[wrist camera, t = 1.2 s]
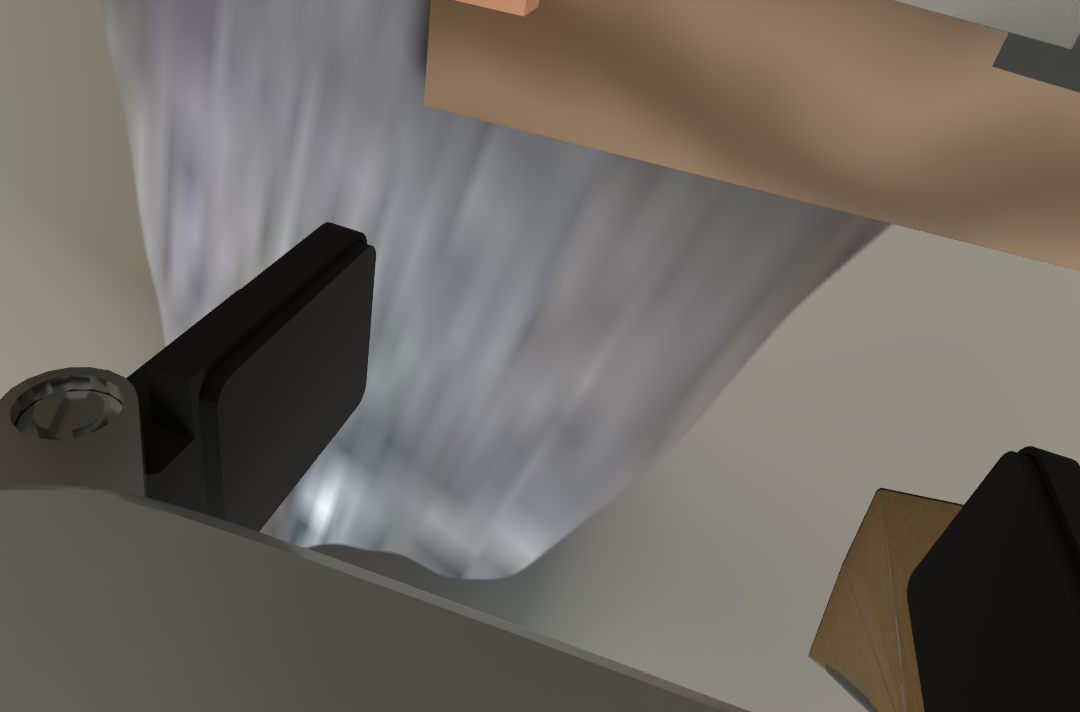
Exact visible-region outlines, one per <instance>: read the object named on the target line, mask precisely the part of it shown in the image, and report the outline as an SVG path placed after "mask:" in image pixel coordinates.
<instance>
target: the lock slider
mask: <svg viewBox="0 0 1080 712" xmlns="http://www.w3.org/2000/svg"><path fill="white" fill-rule="evenodd" d="M455 1H460V2H464V3H468V4H473V5H477V6H481V7H485V8H490V9H494V10H498V11H503V12H507V13H511V14H516V15H520V16H525V15H527V14H528V13H530V12H531V11H533V10H534V9H536V8H538V6H539V0H455Z"/></svg>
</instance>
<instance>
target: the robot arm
mask: <svg viewBox="0 0 1080 712" xmlns="http://www.w3.org/2000/svg"><path fill="white" fill-rule="evenodd" d="M375 262H376V251H375V248H374V247H373V246H371V245H367V240H366V236H365V235H364V234H363V233H361V232H358V231H355V230H352V229H349V228H346V227H342V226H339V225H336V224H333V223H329V222H326V223H324V224H323V225H321V226H320V227H319V228H317V229H316V230H315V231H314V232H312V233H311V234H310V235H309V236H307V237H306V238H305V239H304V240H302V241H301V242H300V243H299V244H297V245H296V246H295V247H293V248H292V249H291V250H290V251H288V252H287V253H286V254H285V255H283V256H282V257H281V258H280V259H278V260H277V261H276V262H274V263H273V264H272V265H271V266H269V267H268V268H267V269H266V270H264V271H263V272H262V273H261V274H259V275H258V276H257V277H255V278H254V279H253V280H252V281H250V282H249V283H248V284H247V285H245V286H244V287H243V288H242V289H240V290H238V291H236V292H235V293H234V294H233V295H231V296H230V297H229V298H228V299H226V300H225V301H224V302H222V303H221V304H220V305H219V306H217V307H216V308H215V309H214V310H212V311H211V312H210V313H208V314H207V315H206V316H205V317H203V318H202V319H201V320H200V321H198V322H197V323H196V324H195V325H193V326H192V327H191V328H189V329H188V330H187V331H186V332H184V333H183V334H182V335H181V336H179V337H178V338H177V339H176V340H174V341H173V342H172V343H170V344H169V345H168V346H167V347H165V348H164V349H163V350H162V351H160V352H159V353H158V354H157V355H155V356H154V357H153V358H152V359H150V360H149V361H148V362H146V363H145V364H144V365H143V366H141V367H140V368H139V369H137V370H136V371H135V372H134V373H132V374H131V375H130V376H129V377H127V378H124V377H123V376H120V375H118V374H116V373H114V372H111V371H109V370H103V369H97V368H92V367H75V368H74V367H71V368H64V369H58V370H53V371H48V372H45V373H42V374H40V375H37V376H34V377H31V378H28V379H26V380H25V381H23V382H21V383H20V384H18V385H16V386H15V387H13V388H11V389H10V390H9V391H8V392H7V393H6V394H5V395H4V396H3V397H2V399H1V400H0V712H750V711H747V710H745V709H742V708H740V707H737V706H734V705H731V704H729V703H726V702H723V701H721V700H718V699H715V698H713V697H710V696H707V695H704V694H702V693H699V692H696V691H694V690H691V689H688V688H686V687H683V686H680V685H678V684H675V683H672V682H669V681H666V680H664V679H661V678H659V677H656V676H653V675H651V674H648V673H645V672H643V671H640V670H637V669H635V668H631V667H629V666H626V665H624V664H621V663H618V662H615V661H613V660H610V659H607V658H605V657H602V656H599V655H597V654H594V653H591V652H588V651H586V650H583V649H580V648H578V647H575V646H572V645H570V644H567V643H564V642H562V641H559V640H556V639H553V638H550V637H548V636H545V635H543V634H540V633H537V632H534V631H532V630H529V629H526V628H524V627H521V626H518V625H516V624H513V623H510V622H507V621H505V620H502V619H499V618H496V617H494V616H491V615H488V614H485V613H483V612H480V611H477V610H475V609H472V608H469V607H466V606H464V605H461V604H458V603H455V602H452V601H450V600H447V599H444V598H442V597H439V596H436V595H433V594H431V593H428V592H425V591H422V590H419V589H417V588H414V587H411V586H408V585H406V584H403V583H400V582H397V581H395V580H392V579H389V578H387V577H384V576H381V575H378V574H375V573H373V572H370V571H367V570H364V569H362V568H359V567H357V566H354V565H351V564H348V563H346V562H343V561H340V560H337V559H335V558H332V557H329V556H326V555H323V554H320V553H317V552H314V551H312V550H309V549H306V548H303V547H300V546H297V545H294V544H291V543H289V542H286V541H283V540H280V539H277V538H274V537H271V536H268V535H265V534H263V533H260V532H259V531H260V530H261V529H262V527H263V526H264V525H265V524H266V522H267V521H268V520H269V519H270V517H271V516H272V515H273V513H274V512H275V511H276V510H277V508H278V507H279V506H280V505H281V503H282V502H283V501H284V499H285V498H286V497H287V496H288V494H289V493H290V492H291V491H292V489H293V488H294V487H295V485H296V484H297V483H298V482H299V480H300V479H301V478H302V477H303V475H304V474H305V473H306V471H307V470H308V469H309V468H310V466H311V465H312V464H313V463H314V461H315V460H316V459H317V457H318V456H319V455H320V454H321V452H322V451H323V450H324V449H325V447H326V446H327V445H328V443H329V442H330V441H331V440H332V438H333V437H334V436H335V435H336V433H337V432H338V431H339V429H340V428H341V427H342V426H343V424H344V423H345V422H346V421H347V419H348V418H349V417H350V415H351V414H352V413H353V412H354V410H355V409H356V408H357V406H358V405H359V403H360V401H361V399H362V397H363V394H364V391H365V387H366V379H367V366H368V353H369V340H370V327H371V314H372V301H373V288H374V275H375ZM907 602H908V608H909V615H910V621H911V628H912V634H913V641H914V647H915V654H916V660H917V667H918V673H919V679H920V686H921V692H922V699H923V705H924V712H1080V465H1079V464H1078V463H1077V461H1075V460H1073V459H1070V458H1067V457H1064V456H1060V455H1057V454H1054V453H1051V452H1048V451H1045V450H1042V449H1039V448H1035V447H1032V446H1029V447H1025V448H1023V449H1021V450H1020V451H1019V452H1018V453H1016V452H1013V451H1010V452H1007V453H1005V454H1004V455H1003V456H1002V457H1001V458H1000V459H999V461H998V462H997V463H996V464H995V466H994V467H993V468H992V470H991V471H990V472H989V473H988V475H987V476H986V477H985V479H984V480H983V481H982V482H981V484H980V485H979V486H978V488H977V489H976V490H975V492H974V493H973V494H972V495H971V497H970V498H969V499H968V501H967V502H966V503H965V505H964V506H963V507H962V508H961V510H960V511H959V512H958V514H957V515H956V516H955V517H954V519H953V520H952V521H951V523H950V524H949V525H948V527H947V528H946V529H945V530H944V532H943V533H942V534H941V536H940V537H939V538H938V540H937V541H936V542H935V543H934V545H933V546H932V547H931V549H930V550H929V551H928V553H927V554H926V555H925V556H924V558H923V559H922V560H921V562H920V563H919V564H918V565H917V567H916V568H915V569H914V571H913V572H912V574H911V576H910V579H909V582H908V585H907Z"/></svg>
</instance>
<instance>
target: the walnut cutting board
mask: <svg viewBox="0 0 1080 712" xmlns="http://www.w3.org/2000/svg"><path fill="white" fill-rule="evenodd" d="M1007 35H1008V32H1003V31H999V30H994V29H990V28H988V27H986V26H985V25H982V24H978V23H975V22H971V21H967V20H964V19H960V18H956V17H953V16H949V15H946V14H942V13H938V12H935V11H931V10H928V9H924V8H920V7H917V6H913V5H909V4H906V3H902V2H899V1H895V0H539V6H538V8H536V9H534V10H533V11H531V12H530V13H528V14H527V15H525V16H520V15H516V14H511V13H507V12H503V11H498V10H494V9H490V8H485V7H481V6H477V5H473V4H468V3H464V2H460V1H455V0H431V3H430V19H429V34H428V50H427V65H426V81H425V96H424V106H428V107H432V108H436V109H440V110H444V111H448V112H452V113H456V114H460V115H464V116H468V117H472V118H476V119H480V120H484V121H488V122H492V123H496V124H500V125H503V126H507V127H511V128H515V129H519V130H523V131H527V132H531V133H535V134H539V135H543V136H547V137H551V138H555V139H559V140H563V141H567V142H571V143H575V144H579V145H583V146H587V147H591V148H595V149H599V150H602V151H606V152H610V153H614V154H618V155H622V156H626V157H630V158H634V159H638V160H642V161H646V162H650V163H654V164H658V165H662V166H666V167H670V168H674V169H678V170H682V171H686V172H690V173H694V174H698V175H701V176H705V177H709V178H713V179H717V180H721V181H725V182H729V183H733V184H737V185H741V186H745V187H749V188H753V189H757V190H761V191H765V192H769V193H773V194H777V195H781V196H785V197H789V198H793V199H797V200H801V201H804V202H808V203H812V204H816V205H820V206H824V207H828V208H832V209H836V210H840V211H844V212H848V213H852V214H856V215H860V216H864V217H868V218H872V219H876V220H880V221H884V222H888V223H892V224H896V225H900V226H904V227H907V228H911V229H915V230H919V231H924V232H927V233H931V234H935V235H939V236H943V237H947V238H951V239H955V240H959V241H963V242H967V243H971V244H975V245H979V246H983V247H987V248H991V249H995V250H999V251H1003V252H1007V253H1010V254H1014V255H1018V256H1022V257H1026V258H1030V259H1034V260H1038V261H1042V262H1046V263H1050V264H1054V265H1058V266H1062V267H1066V268H1070V269H1074V270H1078V271H1080V93H1079V92H1075V91H1072V90H1069V89H1065V88H1062V87H1059V86H1055V85H1052V84H1049V83H1045V82H1042V81H1038V80H1035V79H1032V78H1028V77H1025V76H1022V75H1018V74H1015V73H1012V72H1008V71H1005V70H1002V69H998V68H995V67H992V65H993V63H994V61H995V59H996V57H997V55H998V53H999V51H1000V49H1001V47H1002V45H1003V43H1004V41H1005V39H1006V37H1007Z"/></svg>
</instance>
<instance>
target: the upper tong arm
mask: <svg viewBox="0 0 1080 712" xmlns="http://www.w3.org/2000/svg"><path fill="white" fill-rule="evenodd" d="M895 1H899V2H902V3H906V4H909V5H913V6H917V7H920V8H924V9H928V10H931V11H935V12H938V13H942V14H946V15H949V16H953V17H956V18H960V19H964V20H967V21H971V22H975V23H978V24H982V25H985V26H989V27H993V28H996V29H1000V30H1003V31H1007V32H1009V33H1008V35H1007V37H1006V39H1005V41H1004V43H1003V45H1002V47H1001V49H1000V51H999V53H998V55H997V57H996V59H995V61H994V63H993V65H992V67H995V68H998V69H1002V70H1005V71H1008V72H1012V73H1015V74H1018V75H1022V76H1025V77H1028V78H1032V79H1035V80H1038V81H1042V82H1045V83H1049V84H1052V85H1055V86H1059V87H1062V88H1065V89H1069V90H1072V91H1075V92H1079V93H1080V0H895Z"/></svg>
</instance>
